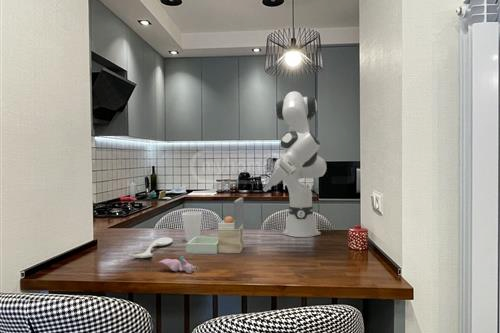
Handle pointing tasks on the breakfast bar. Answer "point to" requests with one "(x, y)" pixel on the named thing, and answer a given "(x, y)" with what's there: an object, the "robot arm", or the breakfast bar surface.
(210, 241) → the tray
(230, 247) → the stand
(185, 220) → the foam cup
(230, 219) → the ball
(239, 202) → the lever flap
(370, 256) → the breakfast bar surface
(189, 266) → the rabbit figure
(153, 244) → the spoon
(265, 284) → the breakfast bar surface
